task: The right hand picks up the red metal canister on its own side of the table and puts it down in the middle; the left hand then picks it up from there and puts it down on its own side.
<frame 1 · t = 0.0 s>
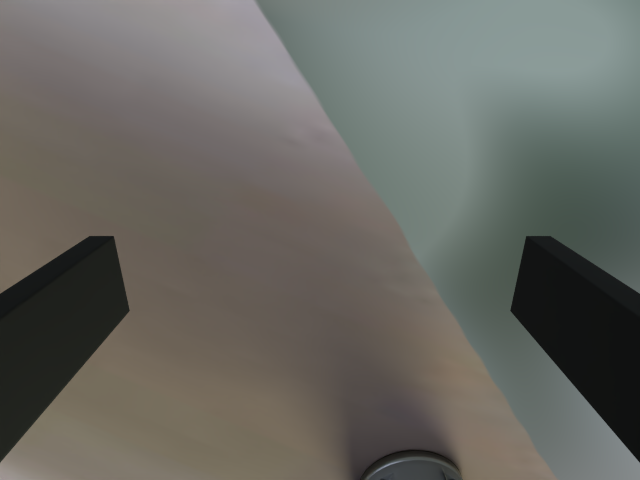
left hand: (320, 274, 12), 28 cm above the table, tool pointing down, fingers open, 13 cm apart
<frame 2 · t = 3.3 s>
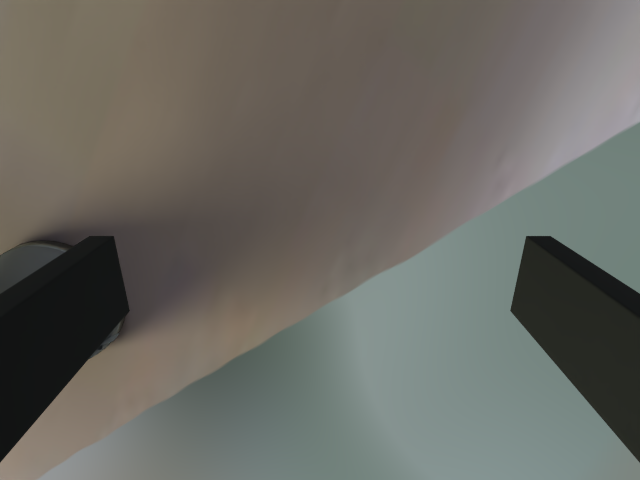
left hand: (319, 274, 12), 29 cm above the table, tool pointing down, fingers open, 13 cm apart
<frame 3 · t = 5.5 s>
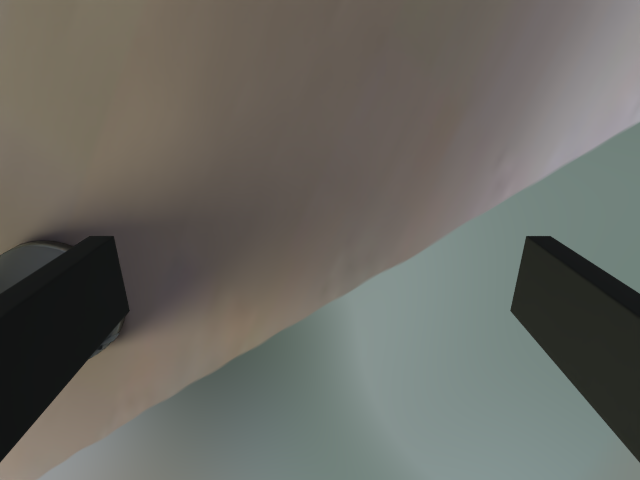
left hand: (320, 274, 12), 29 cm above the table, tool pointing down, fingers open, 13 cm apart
when the right hand's fingers open (4 cm above the table, at t = 7.8 s): canister drops 2 cm, on the table.
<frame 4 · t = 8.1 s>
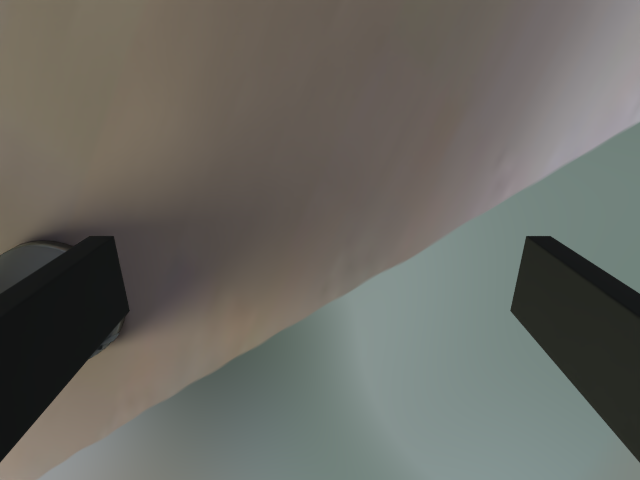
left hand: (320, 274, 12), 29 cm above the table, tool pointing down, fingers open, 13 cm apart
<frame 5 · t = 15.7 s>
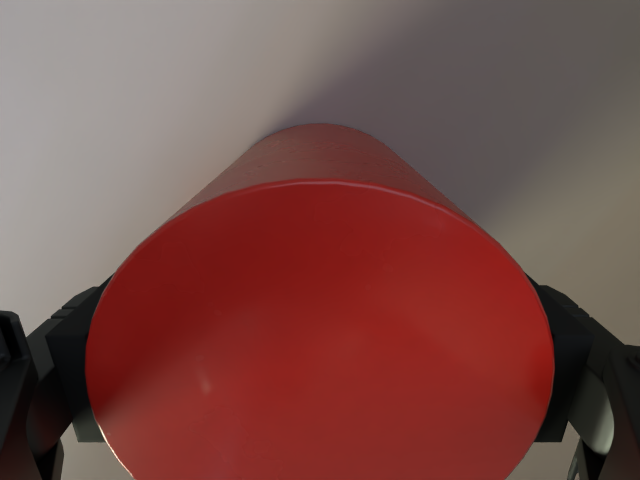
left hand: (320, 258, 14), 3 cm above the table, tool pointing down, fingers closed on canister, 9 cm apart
canister: (319, 231, 16), on the table, touching left hand
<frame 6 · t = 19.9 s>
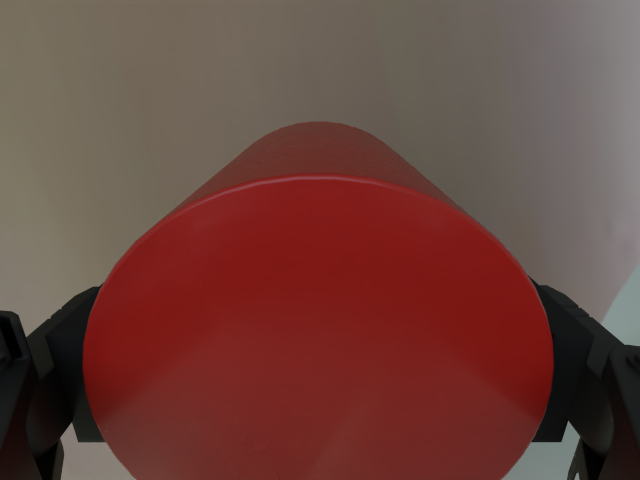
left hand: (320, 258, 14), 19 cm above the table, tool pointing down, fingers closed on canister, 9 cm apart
canister: (319, 230, 16), point 16 cm above the table, touching left hand
when the left hand's fingers open (4 cm above the table, at t = 24.2 s): canister drops 1 cm, on the table.
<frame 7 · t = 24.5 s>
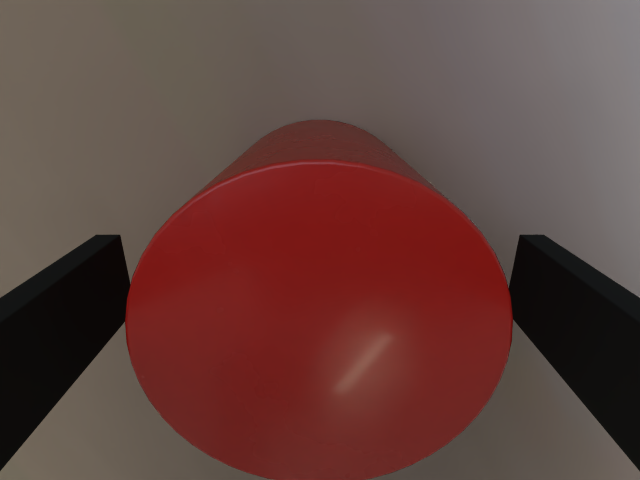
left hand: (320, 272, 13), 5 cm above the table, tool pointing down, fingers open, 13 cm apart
canister: (319, 219, 18), on the table
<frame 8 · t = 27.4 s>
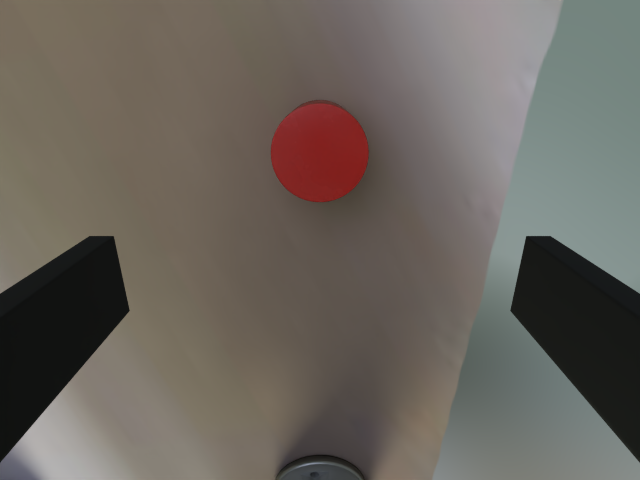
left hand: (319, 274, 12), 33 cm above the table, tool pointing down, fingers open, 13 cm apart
canister: (319, 141, 43), on the table
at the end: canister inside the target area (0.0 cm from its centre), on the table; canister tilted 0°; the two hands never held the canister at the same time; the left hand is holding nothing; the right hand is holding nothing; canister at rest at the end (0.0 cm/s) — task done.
